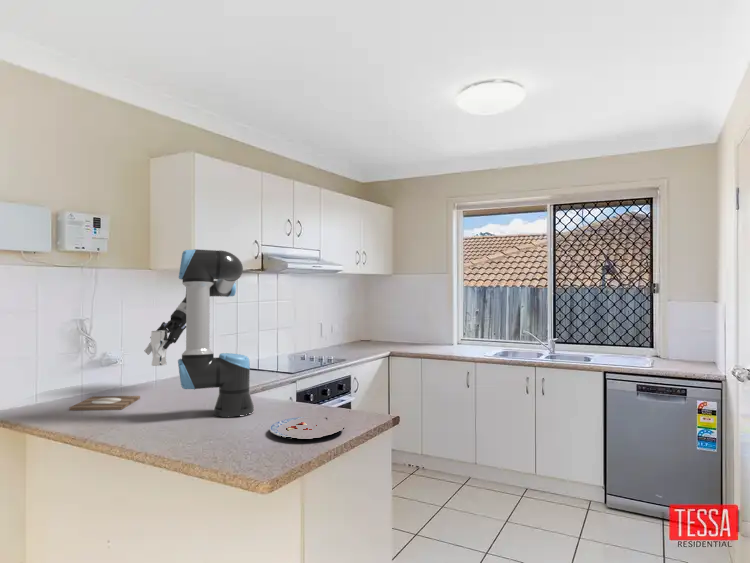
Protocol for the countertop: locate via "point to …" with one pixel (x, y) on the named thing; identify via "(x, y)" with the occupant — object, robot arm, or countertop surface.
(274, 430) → the ceramic plate
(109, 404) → the walnut board
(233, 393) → the robot arm
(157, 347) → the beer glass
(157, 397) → the countertop surface
